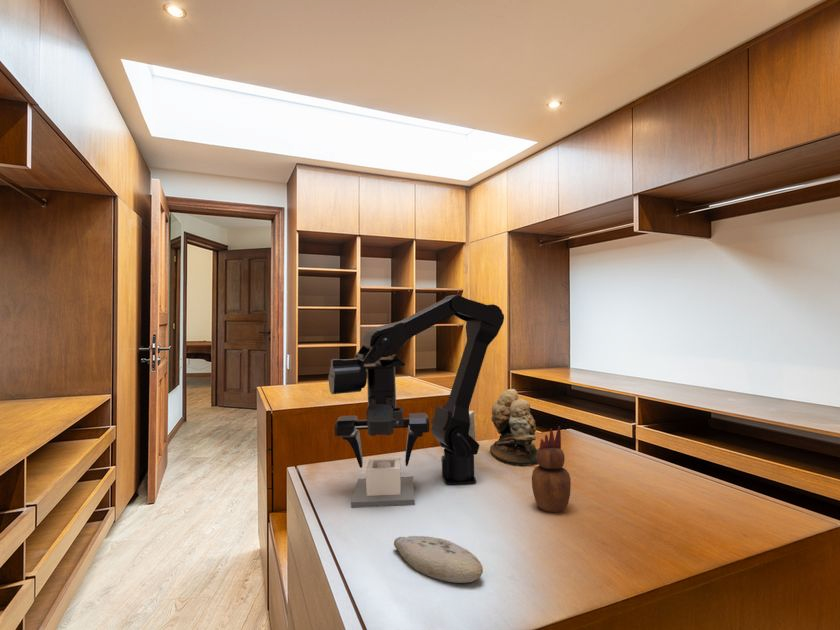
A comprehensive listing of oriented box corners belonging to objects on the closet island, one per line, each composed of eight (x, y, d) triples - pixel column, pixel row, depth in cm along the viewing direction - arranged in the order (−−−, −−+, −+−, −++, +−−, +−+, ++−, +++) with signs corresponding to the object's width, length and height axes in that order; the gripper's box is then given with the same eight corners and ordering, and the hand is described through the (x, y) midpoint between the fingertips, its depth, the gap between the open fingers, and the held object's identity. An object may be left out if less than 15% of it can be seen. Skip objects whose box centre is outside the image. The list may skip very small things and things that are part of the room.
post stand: (413, 481, 95) (412, 453, 95) (414, 504, 83) (413, 473, 83) (358, 483, 94) (357, 455, 94) (351, 507, 82) (350, 475, 82)
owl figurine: (555, 465, 102) (553, 393, 102) (508, 471, 100) (505, 396, 99) (522, 443, 120) (519, 381, 120) (481, 447, 117) (479, 384, 117)
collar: (401, 481, 92) (400, 457, 92) (400, 494, 85) (399, 468, 85) (369, 482, 92) (369, 459, 92) (366, 495, 85) (365, 470, 85)
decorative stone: (407, 542, 70) (406, 521, 70) (494, 575, 60) (494, 550, 60) (381, 560, 65) (381, 537, 65) (472, 599, 55) (471, 572, 55)
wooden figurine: (571, 503, 81) (568, 423, 81) (571, 517, 76) (568, 431, 76) (534, 499, 83) (531, 421, 83) (531, 513, 78) (528, 429, 78)
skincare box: (460, 446, 118) (459, 409, 119) (476, 448, 117) (475, 410, 117) (453, 452, 114) (452, 413, 114) (469, 454, 112) (468, 415, 112)
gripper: (328, 398, 80) (331, 483, 80) (429, 395, 81) (432, 479, 81) (337, 388, 91) (340, 463, 91) (426, 385, 92) (429, 459, 92)
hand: (384, 466), depth 89 cm, fingers open, 9 cm apart
